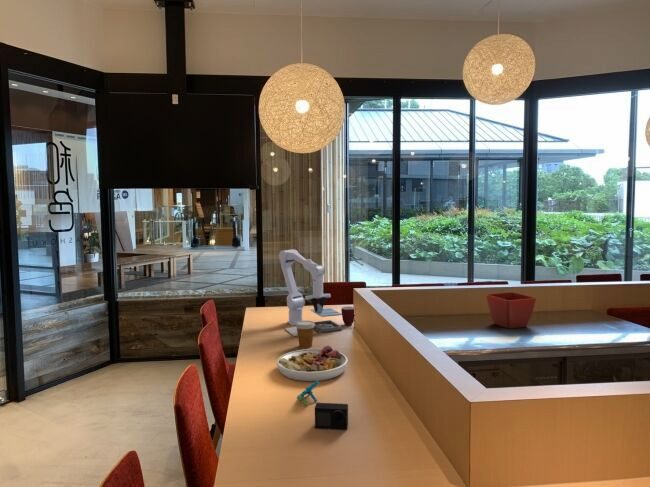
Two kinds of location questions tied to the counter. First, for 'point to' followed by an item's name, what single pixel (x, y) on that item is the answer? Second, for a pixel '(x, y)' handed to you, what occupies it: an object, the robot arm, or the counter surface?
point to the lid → (325, 311)
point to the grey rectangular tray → (327, 326)
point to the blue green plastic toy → (309, 392)
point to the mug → (348, 315)
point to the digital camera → (331, 416)
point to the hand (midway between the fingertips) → (318, 311)
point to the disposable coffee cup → (305, 333)
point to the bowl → (312, 364)
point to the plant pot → (510, 309)
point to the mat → (294, 331)
